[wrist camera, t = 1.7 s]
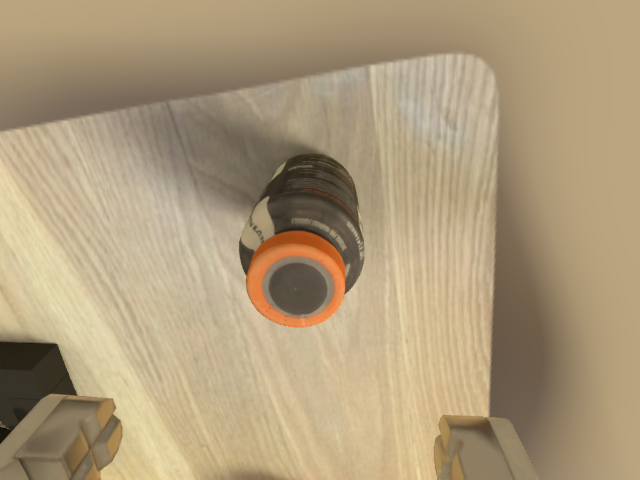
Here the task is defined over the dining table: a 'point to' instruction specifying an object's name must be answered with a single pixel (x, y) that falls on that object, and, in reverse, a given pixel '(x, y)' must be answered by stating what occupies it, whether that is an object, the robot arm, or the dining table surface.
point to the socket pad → (29, 380)
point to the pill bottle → (303, 242)
